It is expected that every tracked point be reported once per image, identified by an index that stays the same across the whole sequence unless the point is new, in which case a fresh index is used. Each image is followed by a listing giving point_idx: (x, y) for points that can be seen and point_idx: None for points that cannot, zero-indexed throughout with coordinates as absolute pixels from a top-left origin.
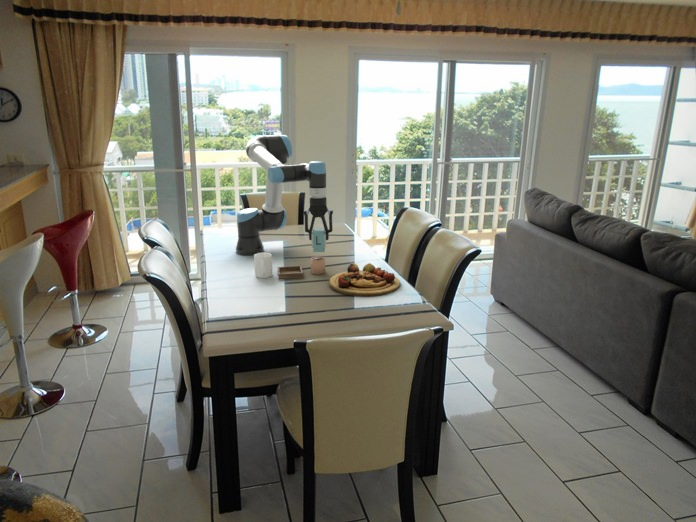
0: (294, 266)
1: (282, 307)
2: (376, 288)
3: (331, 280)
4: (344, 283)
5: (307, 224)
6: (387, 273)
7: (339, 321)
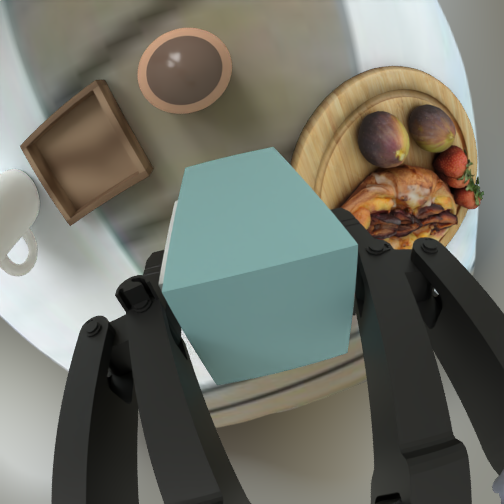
0: (72, 104)
1: None
2: None
3: None
4: None
5: (135, 440)
6: (473, 205)
7: (334, 371)
